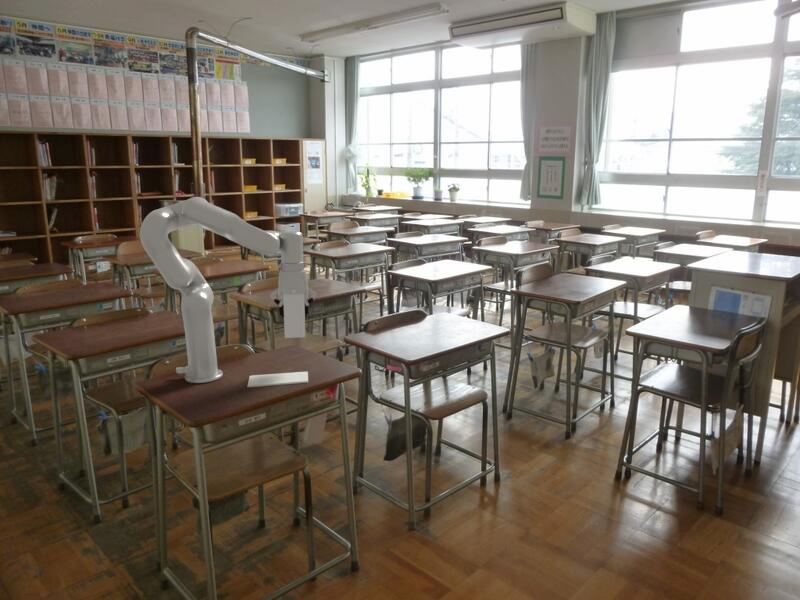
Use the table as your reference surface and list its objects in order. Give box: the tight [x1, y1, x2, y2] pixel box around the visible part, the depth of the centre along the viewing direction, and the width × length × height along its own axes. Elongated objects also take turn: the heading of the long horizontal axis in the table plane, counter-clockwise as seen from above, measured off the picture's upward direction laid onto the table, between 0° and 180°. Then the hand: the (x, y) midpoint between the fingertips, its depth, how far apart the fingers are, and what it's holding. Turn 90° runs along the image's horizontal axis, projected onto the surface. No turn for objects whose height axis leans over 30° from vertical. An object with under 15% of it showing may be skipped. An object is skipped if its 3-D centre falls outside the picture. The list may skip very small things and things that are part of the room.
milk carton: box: [283, 289, 306, 339], centre depth 215 cm, size 7×7×19 cm
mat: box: [246, 370, 309, 388], centre depth 210 cm, size 20×10×1 cm, turn 99°
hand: (294, 316), depth 215 cm, fingers closed on milk carton, 7 cm apart
